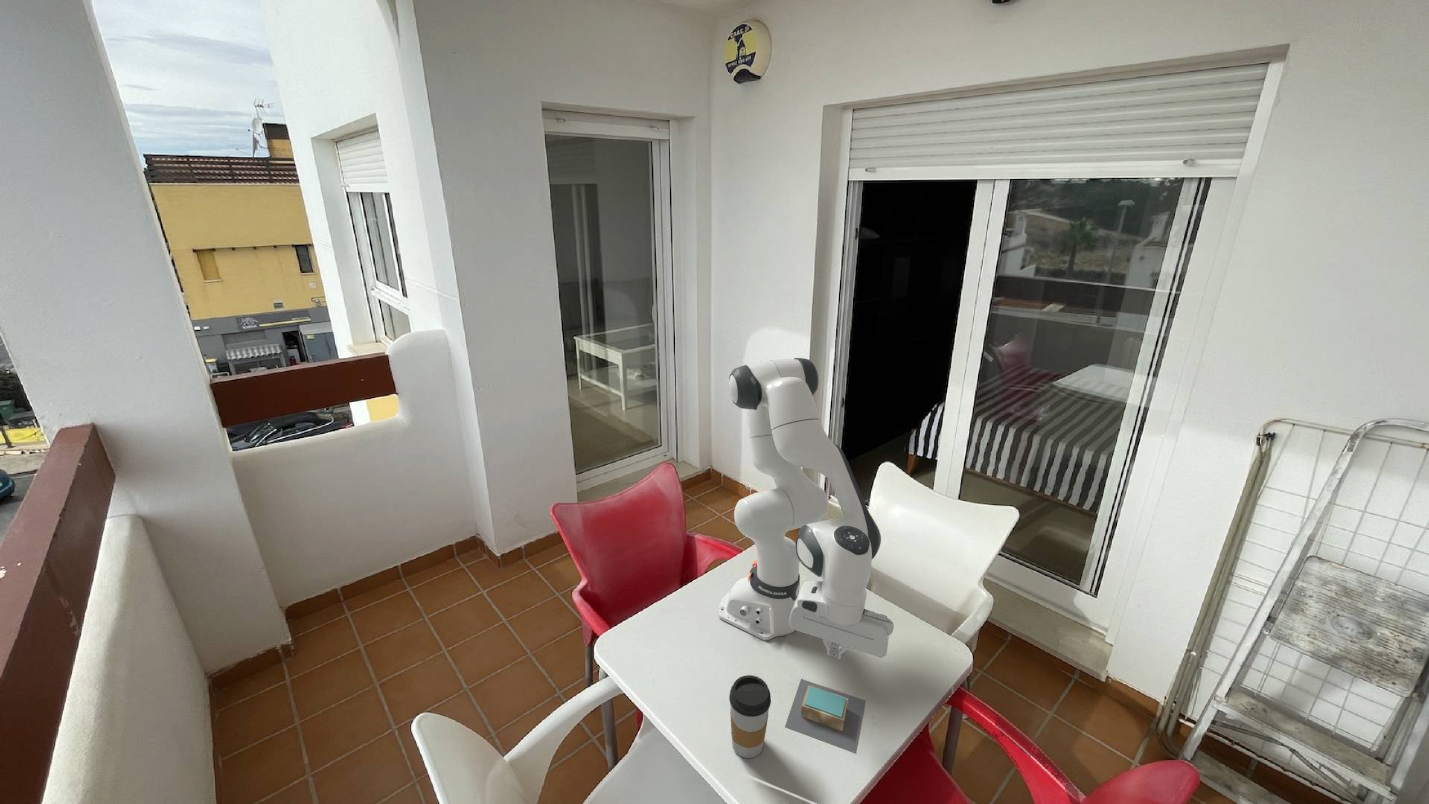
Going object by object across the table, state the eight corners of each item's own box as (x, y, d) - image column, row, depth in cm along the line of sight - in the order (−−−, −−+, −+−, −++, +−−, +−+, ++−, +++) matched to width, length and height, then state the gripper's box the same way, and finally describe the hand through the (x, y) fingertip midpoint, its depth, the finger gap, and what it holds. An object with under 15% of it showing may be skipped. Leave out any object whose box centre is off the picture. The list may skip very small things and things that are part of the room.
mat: (784, 728, 116) (784, 726, 116) (800, 680, 128) (801, 678, 128) (855, 755, 111) (855, 753, 111) (865, 702, 123) (865, 700, 123)
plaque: (842, 731, 115) (800, 716, 119) (846, 708, 121) (807, 695, 124) (843, 719, 114) (801, 704, 118) (848, 697, 120) (808, 684, 123)
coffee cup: (725, 729, 116) (727, 674, 111) (763, 726, 117) (767, 672, 112) (729, 766, 108) (732, 709, 103) (770, 763, 109) (775, 706, 104)
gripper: (896, 608, 109) (886, 660, 114) (797, 579, 116) (791, 629, 121) (893, 629, 103) (882, 683, 108) (789, 597, 111) (784, 650, 116)
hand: (834, 655), depth 115 cm, fingers closed
